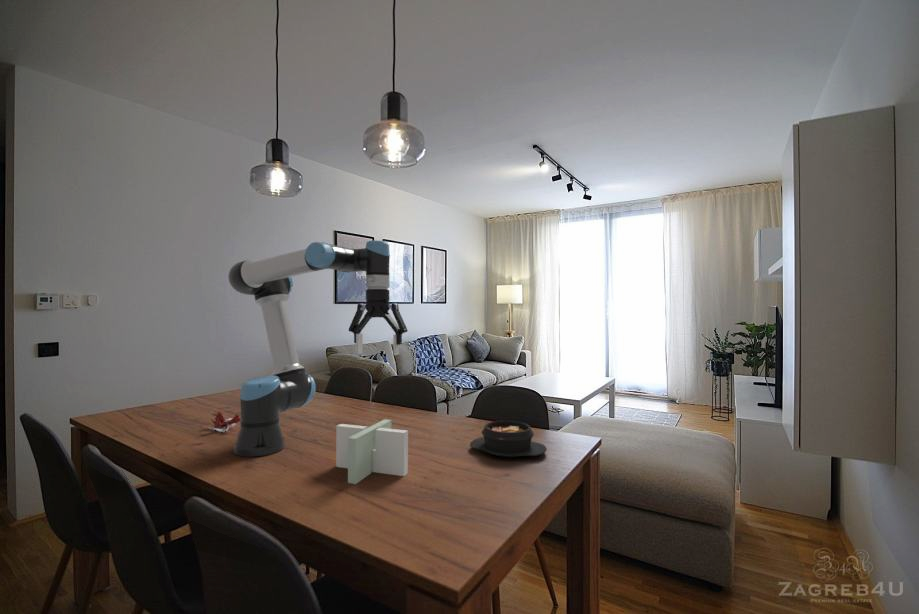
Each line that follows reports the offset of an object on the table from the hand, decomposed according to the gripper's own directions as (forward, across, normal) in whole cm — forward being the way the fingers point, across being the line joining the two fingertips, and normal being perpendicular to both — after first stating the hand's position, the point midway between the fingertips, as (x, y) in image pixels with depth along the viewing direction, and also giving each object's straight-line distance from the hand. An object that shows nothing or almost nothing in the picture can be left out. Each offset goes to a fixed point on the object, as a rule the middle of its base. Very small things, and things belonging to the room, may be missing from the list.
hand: (377, 354), depth 136 cm
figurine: (+32, -68, +3) cm, 75 cm away
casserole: (+32, +40, +14) cm, 53 cm away
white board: (+32, +6, -14) cm, 35 cm away
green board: (+32, +6, -14) cm, 35 cm away
